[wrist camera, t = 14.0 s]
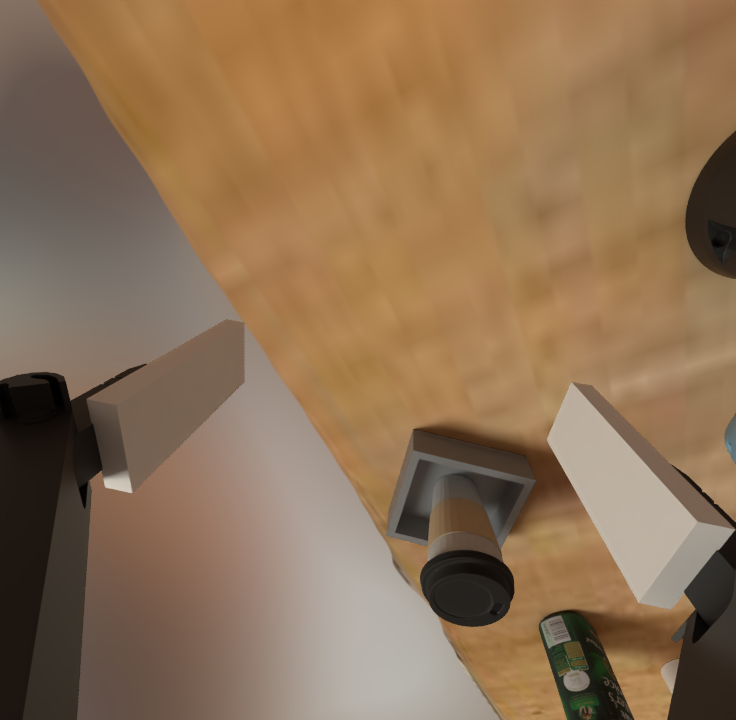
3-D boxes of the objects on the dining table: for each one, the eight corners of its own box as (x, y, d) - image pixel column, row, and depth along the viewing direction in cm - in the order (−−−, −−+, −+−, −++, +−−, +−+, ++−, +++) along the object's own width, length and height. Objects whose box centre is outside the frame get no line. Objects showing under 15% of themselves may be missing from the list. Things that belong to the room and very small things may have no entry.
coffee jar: (604, 638, 57) (683, 817, 40) (557, 650, 60) (613, 823, 43) (576, 603, 55) (648, 777, 38) (529, 617, 58) (576, 786, 41)
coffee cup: (493, 513, 49) (523, 631, 35) (426, 519, 51) (430, 632, 37) (484, 458, 45) (513, 565, 32) (412, 467, 47) (411, 571, 34)
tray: (525, 456, 46) (536, 480, 42) (487, 535, 52) (493, 563, 48) (413, 429, 46) (413, 450, 42) (388, 510, 52) (386, 535, 48)
